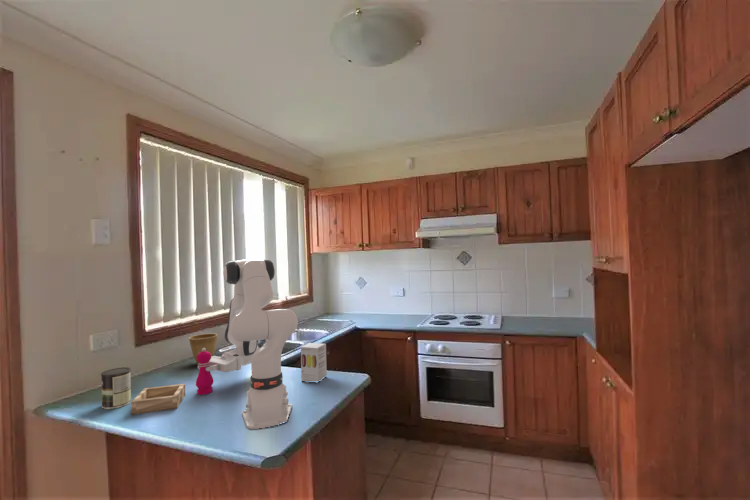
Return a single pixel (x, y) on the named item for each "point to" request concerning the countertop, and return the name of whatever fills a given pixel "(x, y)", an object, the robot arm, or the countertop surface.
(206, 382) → the pepper mill
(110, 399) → the coffee can
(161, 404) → the crate
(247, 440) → the countertop surface
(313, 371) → the supplement box
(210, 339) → the plant pot
